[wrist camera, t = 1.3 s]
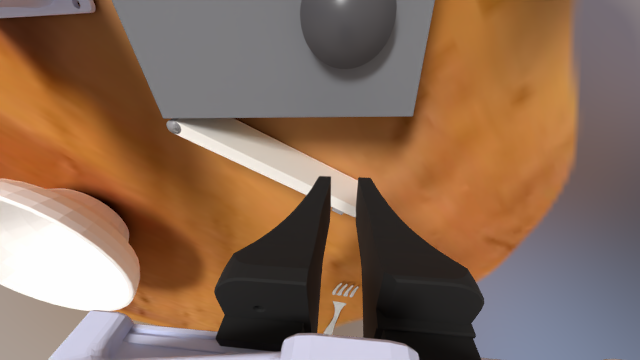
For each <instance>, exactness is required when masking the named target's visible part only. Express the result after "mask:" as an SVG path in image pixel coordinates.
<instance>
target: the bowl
mask: <svg viewBox="0 0 640 360" xmlns="http://www.w3.org/2000/svg"><path fill="white" fill-rule="evenodd" d="M128 241H129V231H128V228H127V226H126V224H125V223H124V221H123V220H122V218H121V217H120V216H119V215H118V214H117V213H116V212H115V211H113V210H112V209H111V208H110V207H108V206H107V205H105V204H104V203H102V202H101V201H99V200H97V199H95V198H93V197H91V196H89V195H87V194H84V193H82V192H78V191H75V190H70V189H62V188H56V189H45V188H42V187H39V186H35V185H32V184H29V183H25V182H21V181H15V180H10V179H0V284H1V285H3V286H5V287H7V288H10V289H12V290H14V291H16V292H19V293H22V294H24V295H27V296H30V297H32V298H35V299H38V300H42V301H45V302H48V303H51V304H55V305H60V306H63V307H68V308H73V309H78V310H85V311H92V310H101V311H113V310H118V309H121V308H123V307H126V306H128V305H129V304H130V302H131V301H132V300H133V298H134V296H135V294H136V291H137V288H138V284H139V280H140V265H139V260H138V257H137V255H136V253H135V251H134V250H133V248H132V247H131V246H130V244H129V243H128Z"/></svg>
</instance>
